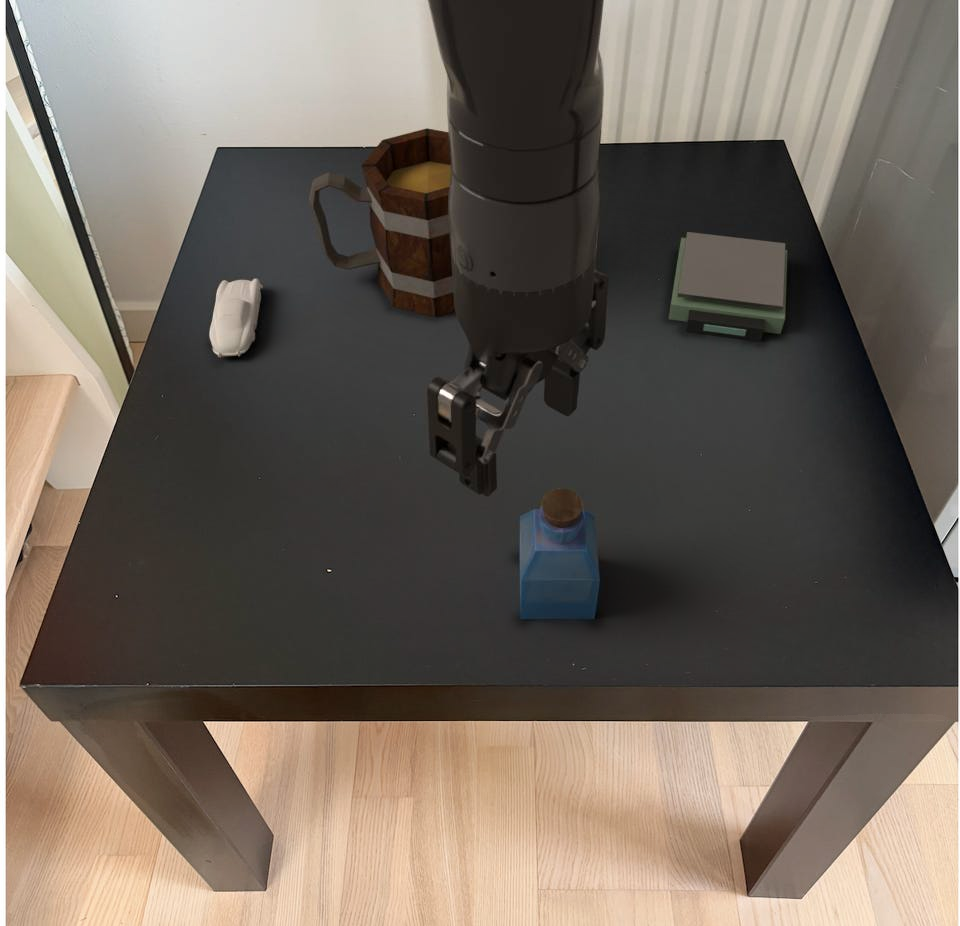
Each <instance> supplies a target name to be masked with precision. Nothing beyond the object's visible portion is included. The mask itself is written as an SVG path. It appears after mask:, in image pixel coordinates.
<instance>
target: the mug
mask: <svg viewBox="0 0 960 926" xmlns="http://www.w3.org/2000/svg"><path fill="white" fill-rule="evenodd" d="M450 164H451V163H450V151H449V135H448V131H444V130H439V129H433V128H429V127H428V128H424V129H419V130H415V131H411V132H408V133H403V134H400V135H397V136H392V137H389V138H384V139H381V141H380V142H379V144H377V145H376V147H375V148H374V150H372V152H371V153H370V154H369V156H368V157H367V158H366V159H365V160H364V162H363V163H362V164H361V170H362V173H363V176H364V181H365V184H366V187H363V186H362V187H361V186H359V185H358V184H356V183H355V182H353V181H352V180H350V179H349V178H348V177H346V176H345V175H342V174H338V173H334V172H331V171H329V172H327V173H324V174H321V175H319V176H318V177H315V178H313V180H312V183H311V187H310V192H309V198H308V203H309V207H310V209H311V213H312V215H313V219H314V221H315V224H316V228H317V233H318V238H319V242H320V246H321V249H322V252H323V255H324V256H325V257H326V258H327V260H328V261H329V262H330V263H331V265H332V266H333V267H335V268H340V269H343V270H347V271H350V270H354V269H358V268H361V267H366V266H371V265H376V264H377V271H378V272H377V281H378V283H379V284H380V286H381V289H382V290H383V291H384V293H385V295H386V296H387V298H388V300H389V301H390V303H391V305H392V307H393V308H397V309H401V310H405V311H410V312H415V313H418V314H421V315H427V316H431V317H435V318H438V317H441V316H443V315H446V314H449V313H452V312H455V307H454V293H453V278H452V263H451V246H450V231H449V215H448V195H449V185H450ZM329 187H330V188H333V189H337V190H338V191H341V192H342V193H344V194H345V195H347V196H348V197H349V198H351V199H352V200H353V201H355V202H358V203H369V225H370V230H371V234H372V237H373V241H374V245H375V249H372V250H366V251H360V252H357V253H355V254H352V255H349V256H348V255H345V254H341V253H338V251H337V250H336V248H335V247H334V245H333V244H332V241H331V235H330V232H329V226H328V222H327V217H326V215H325V211H324V209H323V207H322V204H321V201H320V191H322V190H324V189H326V188H329Z"/></svg>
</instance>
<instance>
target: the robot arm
mask: <svg viewBox="0 0 960 926" xmlns="http://www.w3.org/2000/svg"><path fill="white" fill-rule="evenodd" d="M427 3H428V7H429V12H430V17H431V21H432V25H433V29H434V34H435V39H436V43H437V48H438V51H439V55H440V58H441V61H442V64H443V67H444V70H445V72H446V116H447V117H446V119H447V132H448V135H449V151H450V163H451V164H450V185H449V195H448V215H449V231H450V246H451V263H452V278H453V293H454V307H455V311H454V312H455V315H456V316H455V317H456V318H457V319H456V320H457V321H458V323H459V325H460V327H461V329H462V331H463V333H464V335H465V337H466V339H467V340H468V351H467V355H466V358H465V362H464V371H463V372H461V373H460V374H459V375H458V376H455V378H454V379H452V380H451V381H450V382H449V381H448V380H446V379H444V378H442V377H441V376H435V377H434V378H433V379H432V380H431V381H430V383H429V384H428V386H427V390H426V395H427V396H426V397H427V416H428V417H427V420H428V421H427V422H428V441H429V456H430V457H432V458H433V459H435V460H437V461H438V462H440V463H442V464H443V465H445V466H447V468H450V469H451V470H452V471H455V472H456V473H458V475H459V482H460V483H461V484H462V485H463V486H465V487H466V488H467V489H469V490H471V491H472V492H474V493H476V494H477V495H479V496H481V495H483V496H485V497H490V496H491V495H492V494H493V493H494V492H495V491H496V490H497V488H498V479H497V478H498V476H497V475H498V474H497V473H498V471H497V453H496V450H497V448H498V446H499V444H500V441H501V440H502V436H503V434H504V431H506V430H510V429H513V428H514V427H515V425H516V423H517V421H518V418H519V416H520V413H521V411H522V408H523V406H524V404H525V402H526V399H527V397H528V395H529V393H530V392H531V391H532V389H533V388H534V387H535V386H536V385H537V384H538V383H540V382H541V381H543V380H544V386H543V387H544V388H543V401H544V403H545V405H546V406H547V407H549V408H550V409H552V410H554V411H556V412H558V413H560V414H562V415H563V416H565V417H570V416H571V415H572V414H573V413H574V412H575V411H576V410H577V408H578V397H579V390H580V379H581V377H580V376H581V373H582V372H583V371H584V370H585V368H586V366H587V364H588V362H589V356H588V355H587V354H588V352H589V351H590V350H591V349H593V350H594V351H598V350H599V349H600V348H601V347H602V345H603V344H604V342H605V339H606V328H607V327H606V326H607V325H606V324H607V307H608V292H609V275H607V274H605V273H603V272H600V271H599V270H597V269H596V263H597V252H598V241H599V240H598V239H599V228H600V216H601V189H600V176H599V174H600V173H599V169H600V154H601V153H600V151H601V143H602V141H601V140H602V129H603V128H602V127H603V113H604V100H605V77H604V75H605V74H604V63H603V59H602V56H601V52H600V49H599V48H600V41H601V32H602V22H603V13H604V3H605V0H427ZM482 389H484V390H485V391H487V392H489V393H491V394H493V395H494V396H495V397H497V398H499V399H501V400H503V401H505V403H504V405H503V408H502V410H501V409H499V408H497V407H495V406H494V405H492V404H490V403H488V402H486V401H485V400H484V399H482V397H481V390H482ZM477 419H478V420H480V421H481V422H483V423H485V425H486V430H485V433H484V435H483V438H481V437H479V436H477Z"/></svg>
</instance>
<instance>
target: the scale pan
mask: <svg viewBox="0 0 960 926" xmlns="http://www.w3.org/2000/svg"><path fill="white" fill-rule="evenodd" d="M685 238H686V241H685V248H684V255H683V262H682V268H681V275H680V282H679V289H678V295H677V297H682V298H690V299H698V300H705V301H713V302H721V303H729V304H736V305H744V306H752V307H760V308H768V309H775V310H782V308H783V294H784V267H785V250H786V243H785V242H777V241H768V240H760V239H753V238H752V239H751V238H743V237H734V236H725V235H717V234H709V233H708V234H707V233H699V232H689V231H686V236H685Z"/></svg>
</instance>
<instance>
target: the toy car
mask: <svg viewBox="0 0 960 926" xmlns="http://www.w3.org/2000/svg"><path fill="white" fill-rule="evenodd" d="M263 287H264V286H263V285H262V284H261V283H260V280H259V278H253V279H252V280H248V279H236V280H233V281H230V282H229V281H228V280H225V279H223V280H222V281H221V282H220V283H219V285H218V287H217V289H216V295H215V303H214V308H213V313H212V318H211V319H212V320H211V324H210V327H209V334H208V335H209V336H208V337H209V340H210V343H211V346H212V351H213V353H214V354H215V355H216V356H217V358H224V357H234V356H235V357H236V356H238V357H241V355H242V354H246V352H247V351H248V350H249V348H250V347H251V345H252V343H254V342H255V339H256V332H255V330H257V325H258V319H259V312H260V306H261V300H262V293H261V290H263Z"/></svg>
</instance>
